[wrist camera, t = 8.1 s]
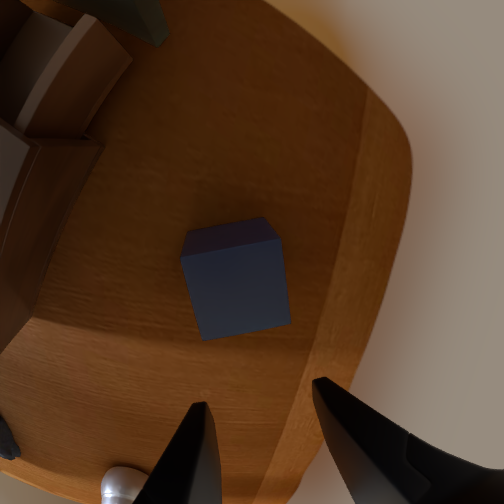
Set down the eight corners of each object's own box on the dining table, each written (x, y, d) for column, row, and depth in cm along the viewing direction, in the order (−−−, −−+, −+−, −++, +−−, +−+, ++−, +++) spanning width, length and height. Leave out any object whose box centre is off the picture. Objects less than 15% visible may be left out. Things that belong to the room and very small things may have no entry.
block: (264, 216, 19) (280, 238, 14) (274, 286, 20) (291, 323, 16) (187, 231, 18) (179, 257, 14) (203, 300, 20) (202, 341, 16)
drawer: (95, -59, 9) (67, -107, 3) (218, -15, 13) (224, -80, 6) (-41, 145, 13) (-102, 154, 6) (52, 222, 16) (-9, 257, 10)
